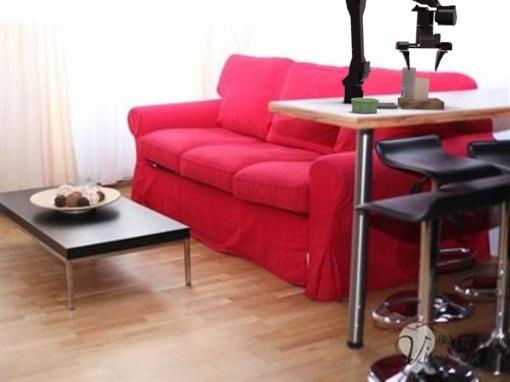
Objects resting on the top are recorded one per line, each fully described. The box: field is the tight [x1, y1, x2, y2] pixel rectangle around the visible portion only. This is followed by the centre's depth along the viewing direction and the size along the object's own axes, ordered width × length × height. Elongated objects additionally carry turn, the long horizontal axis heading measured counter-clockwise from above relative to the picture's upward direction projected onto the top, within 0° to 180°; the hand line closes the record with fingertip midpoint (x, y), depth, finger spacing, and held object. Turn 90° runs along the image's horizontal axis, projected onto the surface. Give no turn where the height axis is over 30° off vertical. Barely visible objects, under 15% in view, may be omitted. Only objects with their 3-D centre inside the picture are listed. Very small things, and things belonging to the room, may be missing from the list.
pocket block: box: [397, 96, 446, 111], centre depth 268 cm, size 14×14×2 cm
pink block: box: [413, 77, 430, 101], centre depth 268 cm, size 4×4×10 cm
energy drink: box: [400, 66, 417, 98], centre depth 291 cm, size 5×5×12 cm
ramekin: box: [351, 97, 380, 115], centre depth 253 cm, size 9×9×4 cm
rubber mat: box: [377, 102, 398, 110], centre depth 267 cm, size 10×10×1 cm
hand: (422, 71), depth 266 cm, fingers open, 9 cm apart
